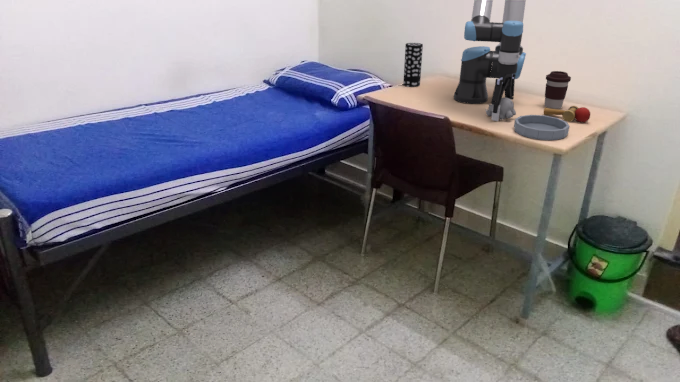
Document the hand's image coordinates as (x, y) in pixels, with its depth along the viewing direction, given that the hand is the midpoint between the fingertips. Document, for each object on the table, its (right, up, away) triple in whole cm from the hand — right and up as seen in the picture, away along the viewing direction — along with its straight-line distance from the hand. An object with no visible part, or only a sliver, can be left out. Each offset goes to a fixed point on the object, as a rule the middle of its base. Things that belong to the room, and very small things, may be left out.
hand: (500, 117), depth 214 cm
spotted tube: (-30, +23, +48) cm, 61 cm away
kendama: (+27, -1, 0) cm, 27 cm away
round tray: (+11, -7, -15) cm, 20 cm away
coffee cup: (+28, +7, +15) cm, 32 cm away
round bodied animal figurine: (0, 0, 0) cm, 1 cm away
